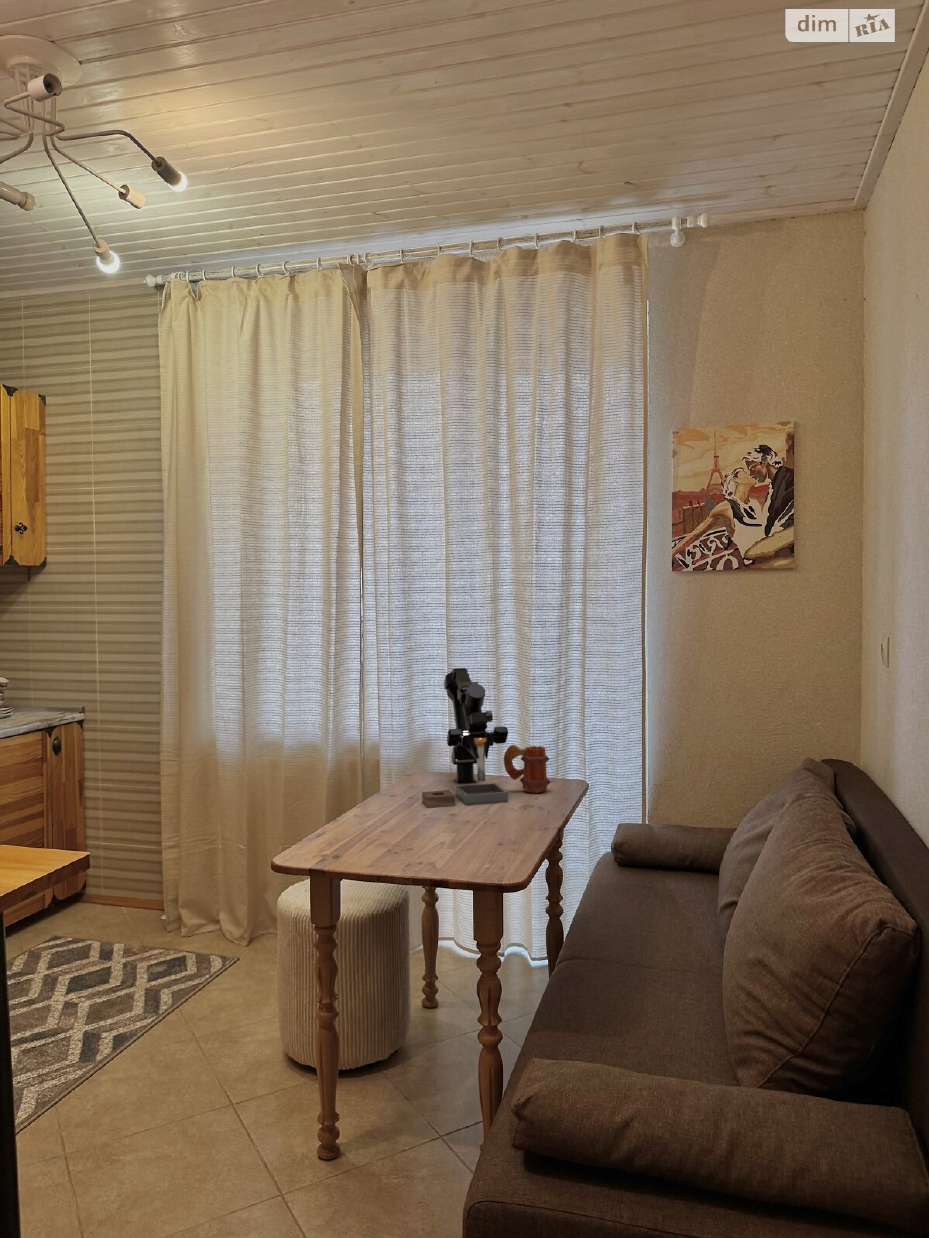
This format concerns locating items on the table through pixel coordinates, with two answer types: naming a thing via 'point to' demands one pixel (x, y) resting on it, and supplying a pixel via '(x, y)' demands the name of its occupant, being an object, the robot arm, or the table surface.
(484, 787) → the tray
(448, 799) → the hitch block
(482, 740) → the pin
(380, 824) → the table surface
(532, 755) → the mug
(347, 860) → the table surface
